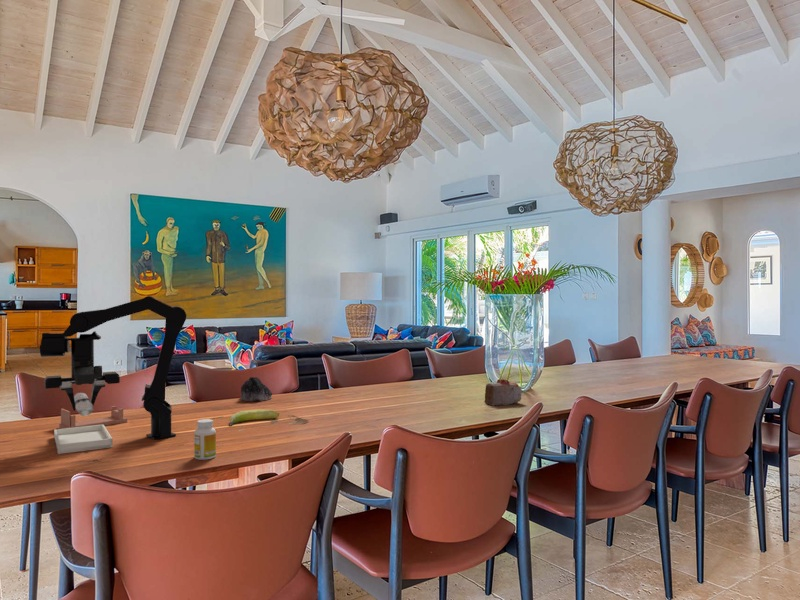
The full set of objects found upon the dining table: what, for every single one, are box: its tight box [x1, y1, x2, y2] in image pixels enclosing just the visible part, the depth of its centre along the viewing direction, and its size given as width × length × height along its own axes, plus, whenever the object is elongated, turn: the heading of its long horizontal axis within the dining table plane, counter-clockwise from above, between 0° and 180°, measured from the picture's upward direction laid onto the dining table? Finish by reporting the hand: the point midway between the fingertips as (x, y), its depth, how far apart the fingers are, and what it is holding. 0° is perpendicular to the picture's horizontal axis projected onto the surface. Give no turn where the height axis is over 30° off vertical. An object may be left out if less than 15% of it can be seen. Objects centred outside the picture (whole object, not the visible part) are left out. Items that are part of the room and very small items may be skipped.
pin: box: [74, 392, 94, 417], centre depth 170 cm, size 16×4×4 cm, turn 33°
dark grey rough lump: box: [240, 376, 273, 402], centre depth 241 cm, size 13×14×10 cm
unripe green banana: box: [211, 408, 309, 432], centre depth 200 cm, size 35×27×4 cm
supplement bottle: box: [193, 418, 217, 461], centre depth 156 cm, size 5×5×10 cm
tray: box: [53, 424, 114, 455], centre depth 170 cm, size 21×13×2 cm, turn 33°
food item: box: [484, 378, 522, 407], centre depth 234 cm, size 14×8×10 cm, turn 117°
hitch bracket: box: [58, 405, 128, 429], centre depth 192 cm, size 18×7×6 cm, turn 137°
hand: (82, 409), depth 170 cm, fingers closed on pin, 4 cm apart
